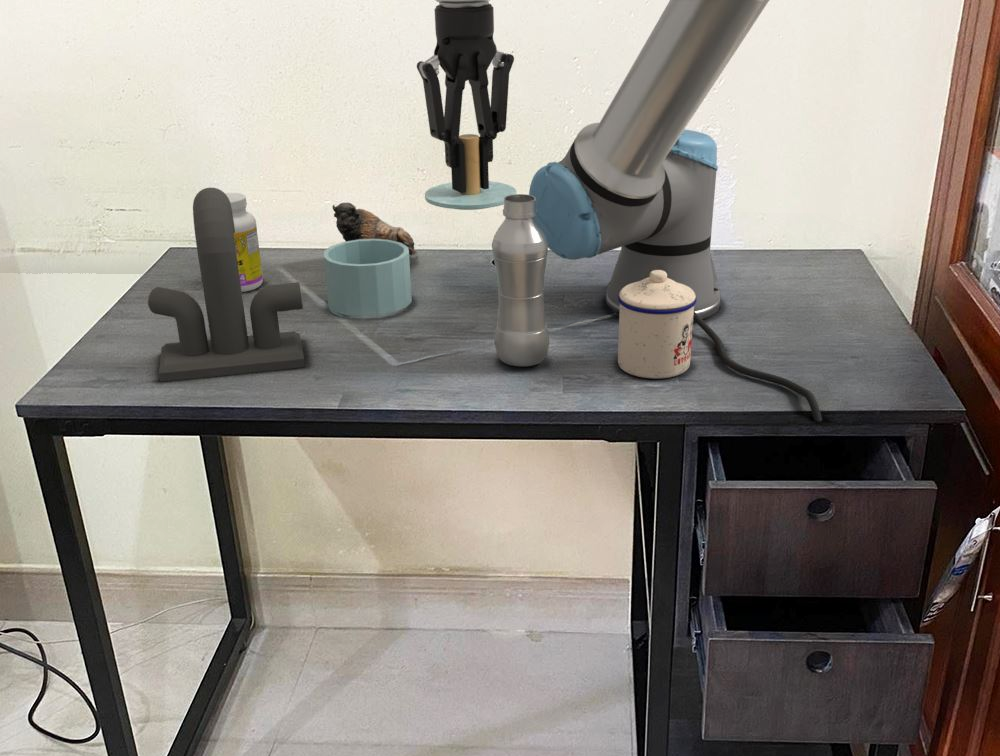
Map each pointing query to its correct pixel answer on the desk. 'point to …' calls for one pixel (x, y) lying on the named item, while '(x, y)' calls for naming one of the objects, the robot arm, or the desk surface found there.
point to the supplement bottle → (246, 243)
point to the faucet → (225, 309)
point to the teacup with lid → (655, 327)
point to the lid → (470, 184)
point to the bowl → (367, 277)
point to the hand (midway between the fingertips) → (470, 188)
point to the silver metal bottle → (520, 284)
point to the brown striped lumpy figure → (369, 227)
